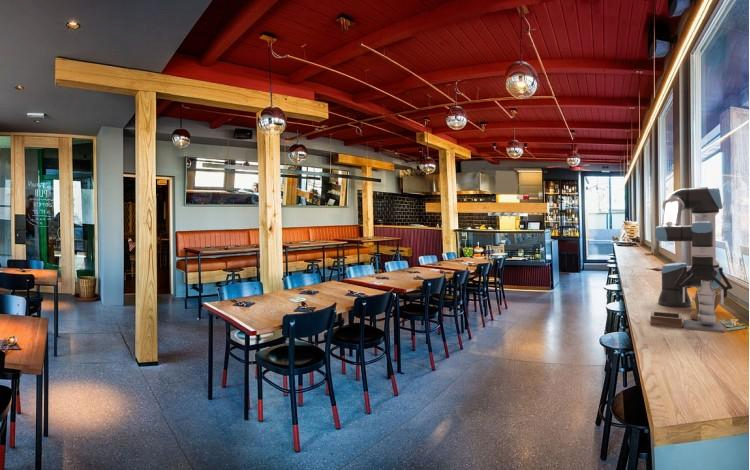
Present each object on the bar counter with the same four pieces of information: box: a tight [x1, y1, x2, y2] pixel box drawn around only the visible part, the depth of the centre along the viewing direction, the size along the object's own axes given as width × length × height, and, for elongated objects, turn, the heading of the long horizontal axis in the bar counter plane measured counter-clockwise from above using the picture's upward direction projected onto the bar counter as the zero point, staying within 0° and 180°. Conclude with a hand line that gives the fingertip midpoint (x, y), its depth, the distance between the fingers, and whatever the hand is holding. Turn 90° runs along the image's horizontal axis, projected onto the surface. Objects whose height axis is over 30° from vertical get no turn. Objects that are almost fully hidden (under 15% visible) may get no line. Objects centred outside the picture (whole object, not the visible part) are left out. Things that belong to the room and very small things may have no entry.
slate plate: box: [682, 319, 725, 333], centre depth 189 cm, size 14×14×1 cm
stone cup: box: [688, 288, 721, 321], centre depth 201 cm, size 15×12×15 cm
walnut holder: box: [650, 310, 683, 329], centre depth 197 cm, size 12×12×4 cm
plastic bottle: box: [696, 280, 717, 325], centre depth 188 cm, size 6×7×20 cm
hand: (702, 303), depth 188 cm, fingers open, 13 cm apart
